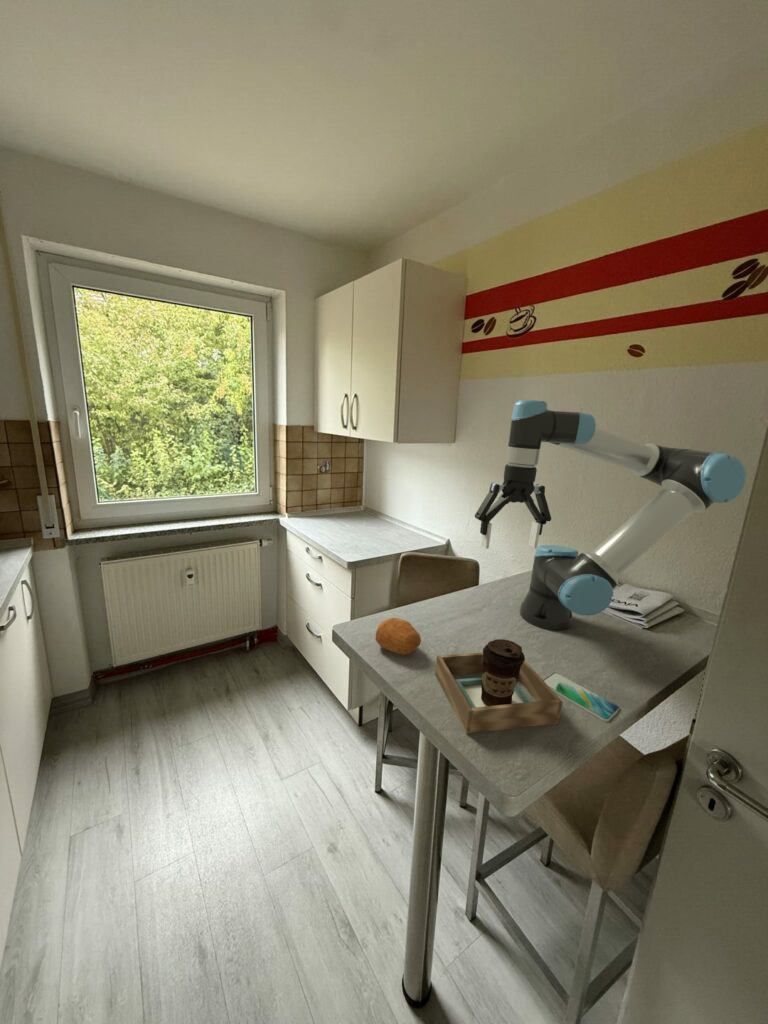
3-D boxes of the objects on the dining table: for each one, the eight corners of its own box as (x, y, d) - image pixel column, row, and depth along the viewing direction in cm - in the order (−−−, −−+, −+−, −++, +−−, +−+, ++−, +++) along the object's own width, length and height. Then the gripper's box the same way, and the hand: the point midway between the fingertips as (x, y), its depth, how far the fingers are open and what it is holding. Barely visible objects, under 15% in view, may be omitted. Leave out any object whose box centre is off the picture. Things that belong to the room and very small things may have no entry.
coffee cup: (518, 720, 81) (528, 663, 78) (475, 711, 83) (484, 654, 80) (515, 692, 90) (524, 640, 87) (476, 684, 91) (484, 632, 88)
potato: (394, 634, 111) (396, 609, 109) (426, 652, 103) (429, 626, 101) (370, 646, 104) (371, 619, 102) (402, 667, 97) (405, 638, 95)
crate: (512, 668, 99) (515, 650, 98) (558, 723, 82) (562, 701, 81) (434, 674, 94) (437, 655, 93) (466, 733, 77) (469, 711, 76)
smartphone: (555, 671, 98) (621, 707, 87) (554, 674, 99) (620, 710, 88) (539, 681, 94) (607, 720, 83) (538, 685, 94) (606, 724, 83)
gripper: (556, 464, 107) (543, 542, 112) (468, 460, 101) (458, 542, 106) (575, 469, 99) (560, 551, 104) (481, 465, 94) (470, 551, 99)
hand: (508, 546), depth 105 cm, fingers open, 13 cm apart
